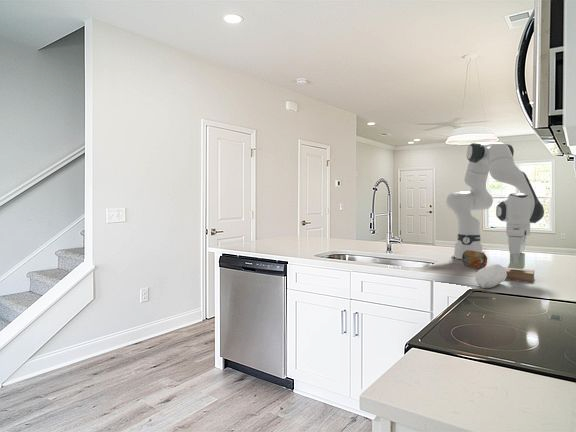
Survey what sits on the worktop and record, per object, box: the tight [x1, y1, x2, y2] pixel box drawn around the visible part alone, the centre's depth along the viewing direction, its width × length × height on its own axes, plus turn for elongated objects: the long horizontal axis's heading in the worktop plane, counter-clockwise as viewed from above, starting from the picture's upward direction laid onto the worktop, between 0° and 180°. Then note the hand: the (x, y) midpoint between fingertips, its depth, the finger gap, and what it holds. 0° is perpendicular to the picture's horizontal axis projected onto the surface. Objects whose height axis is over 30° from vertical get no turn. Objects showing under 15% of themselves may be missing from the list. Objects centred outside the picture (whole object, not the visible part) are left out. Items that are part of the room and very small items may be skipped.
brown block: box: [504, 267, 535, 283], centre depth 164 cm, size 10×12×4 cm
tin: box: [461, 250, 488, 270], centre depth 192 cm, size 15×3×8 cm, turn 14°
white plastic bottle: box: [475, 263, 507, 289], centre depth 149 cm, size 8×19×8 cm, turn 135°
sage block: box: [509, 252, 526, 269], centre depth 164 cm, size 5×5×6 cm
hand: (517, 262), depth 164 cm, fingers closed on sage block, 5 cm apart
